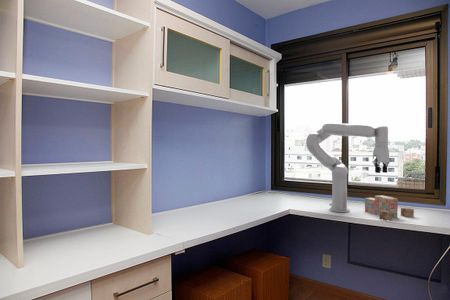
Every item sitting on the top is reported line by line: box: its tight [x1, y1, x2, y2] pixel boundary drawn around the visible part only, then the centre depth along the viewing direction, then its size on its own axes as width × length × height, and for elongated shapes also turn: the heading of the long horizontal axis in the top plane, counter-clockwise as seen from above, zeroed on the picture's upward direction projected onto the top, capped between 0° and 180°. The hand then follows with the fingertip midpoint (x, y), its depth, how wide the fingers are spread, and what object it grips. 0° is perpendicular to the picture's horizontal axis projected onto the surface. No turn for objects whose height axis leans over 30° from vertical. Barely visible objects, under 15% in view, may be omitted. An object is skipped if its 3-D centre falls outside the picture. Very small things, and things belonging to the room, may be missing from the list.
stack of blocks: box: [364, 195, 399, 219], centre depth 193 cm, size 21×6×12 cm, turn 16°
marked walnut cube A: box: [379, 210, 393, 221], centre depth 180 cm, size 5×5×5 cm
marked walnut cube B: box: [400, 207, 415, 218], centre depth 188 cm, size 5×5×5 cm
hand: (381, 172), depth 193 cm, fingers open, 5 cm apart
